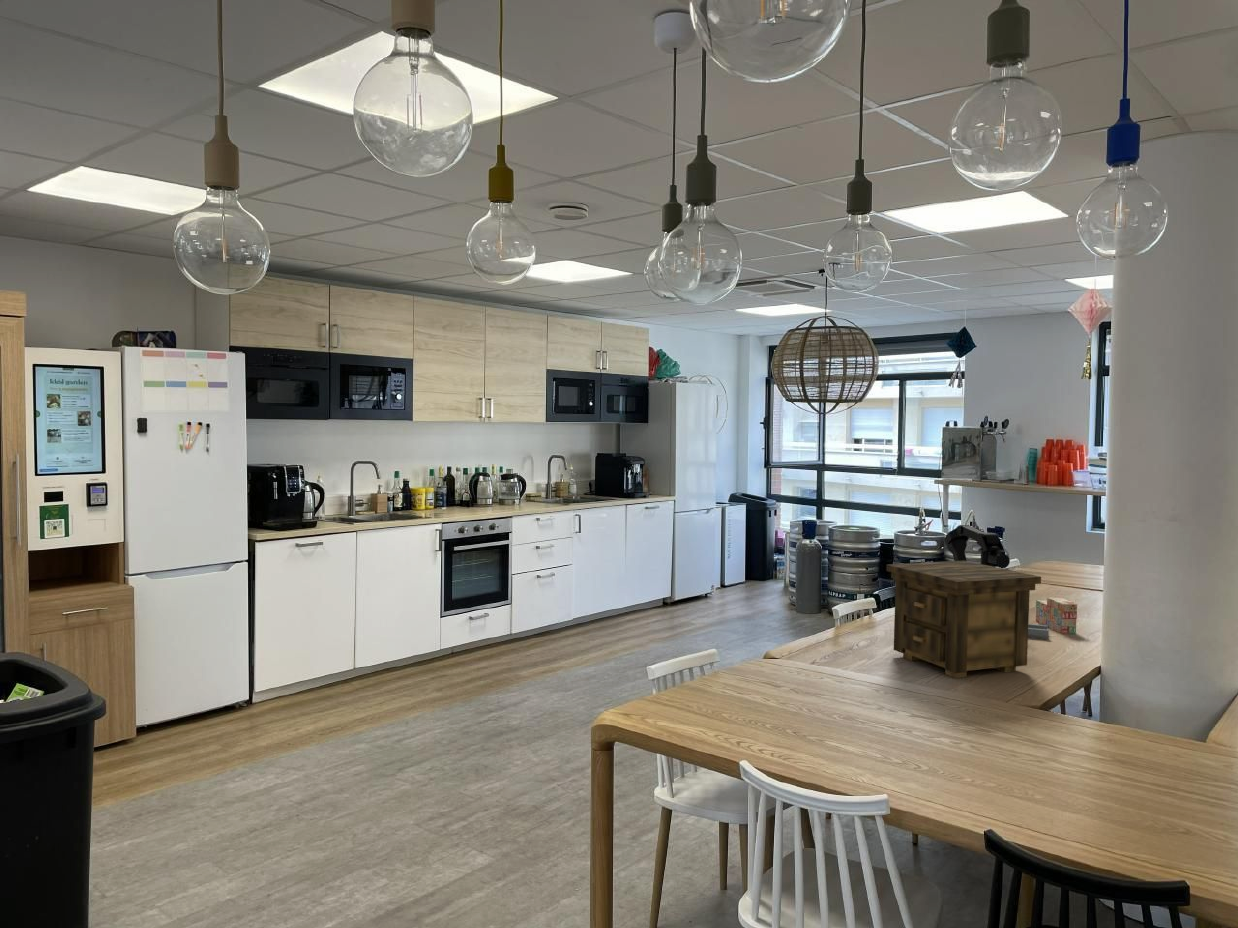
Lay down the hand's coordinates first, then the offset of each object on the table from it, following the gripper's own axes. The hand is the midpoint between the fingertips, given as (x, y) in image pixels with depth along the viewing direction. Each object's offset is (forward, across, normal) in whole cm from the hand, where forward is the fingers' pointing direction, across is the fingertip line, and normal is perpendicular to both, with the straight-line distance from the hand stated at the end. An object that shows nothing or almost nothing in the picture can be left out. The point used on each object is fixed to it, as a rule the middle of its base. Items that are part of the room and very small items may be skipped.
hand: (986, 602), depth 345 cm
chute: (+11, +13, 0) cm, 17 cm away
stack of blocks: (+12, +26, +20) cm, 35 cm away
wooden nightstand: (+12, -8, -59) cm, 61 cm away
